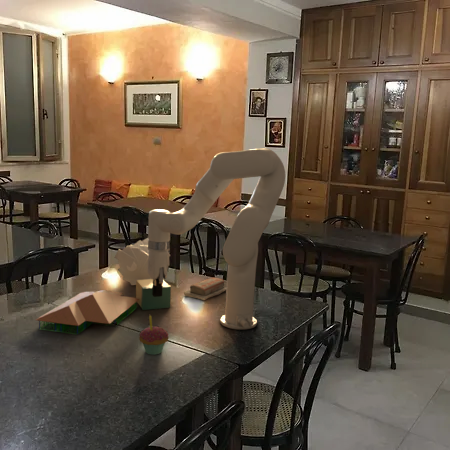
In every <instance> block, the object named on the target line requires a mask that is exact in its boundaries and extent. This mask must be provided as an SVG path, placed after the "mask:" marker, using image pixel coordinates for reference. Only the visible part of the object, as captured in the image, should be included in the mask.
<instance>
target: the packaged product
mask: <svg viewBox="0 0 450 450" xmlns="http://www.w3.org/2000/svg"><path fill="white" fill-rule="evenodd" d="M226 287H227V286H226ZM226 287H225V280H224V279H222V278H218V277H213V276H212V277H209V278H207V279H204V280H201V281H198V282H196V283H193V284H191V285H190V286H189V289H188V290H187V291H186V290H185V291H184V292H183V296H185V297H188V298H194V299H198V300H200V301H206V300H207V299H209V298H212V297H216V296H218V295H221V294H222V293H224V292H226Z"/></svg>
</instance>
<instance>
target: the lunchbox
mask: <svg viewBox="0 0 450 450" xmlns="http://www.w3.org/2000/svg"><path fill="white" fill-rule="evenodd" d="M153 285H154V284H153V279H146V280H136V285H135V297H136V298H137V299H140V300H138V301H137V305H138V306H140V308H141V310H142V311H146V310H147V311H148V310H158V309H168V308H171V296H172V295H171V293H172V287H171V284H169V283H167V282H166V281H165V279H163V288H162V296H160V297H154V296H153V295H152V289H153Z"/></svg>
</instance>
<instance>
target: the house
mask: <svg viewBox="0 0 450 450" xmlns="http://www.w3.org/2000/svg"><path fill="white" fill-rule="evenodd" d="M131 297H132V296H124V295H123V292H120V291H113V290H107V289H98V290H97V291H81V292H79V293H78V294H76V295H74V296H73V297H71V298H70V299H68V300H66V301H64V302H63V303H61V304H59V305H57V306H55V307H54V308H53V309H51V310H49V311H47V312H46V313H44V314H42V315H41V316H39V317H38V318H35V321H38V329H39V330H43V331H49V332H58V333H65V334H72V335H79V334H80V333H81V332H83V331H84V330H86V329H87V328H88V327H90V326H91V325H92V324H94V325H97V324H100V325H103V326H104V325H108V326H109V327H112V323H114V322H115V321H116V320H119V321H118V324H120V323H121V322H122V321H123V319H121V317H124V319H126V318H127V317H128V316H129V314H128V311H130V313H133V312H135V310H136V309H137V307H138V303H137V301H138V300H140V299H137V298H131ZM86 322H87V325H86ZM49 324H50V327H53V329H48V325H49ZM66 325H67V326H66ZM70 326H71V327H72V330H74V329H75V330H74V332H70V331H69V330H70ZM45 327H46V328H45ZM61 328H62V330H61ZM66 329H67V331H68V332H67V331H66ZM79 329H80V331H79Z"/></svg>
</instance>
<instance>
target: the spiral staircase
mask: <svg viewBox="0 0 450 450" xmlns="http://www.w3.org/2000/svg"><path fill="white" fill-rule="evenodd" d="M170 257H171V254H170V252H169V251H167V271H168V269H169V267H170V265H171V263H170ZM148 258H149V250H148V237H146V238H144V239H143V240H141V239H139V240H138V241H136V242H135V243H134V244H130V245H126V247H124V248H122V249H120V248H118V250H117V251H116V254H115V256H114V259H116V260H117V262H118V266H119V267H118V269H117V271H118V272H119V273H120V275H121V276H122V281H125V282H128V283H130V286H136V280H146V279H152V278H151V276H150V275H149V274H148Z"/></svg>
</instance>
